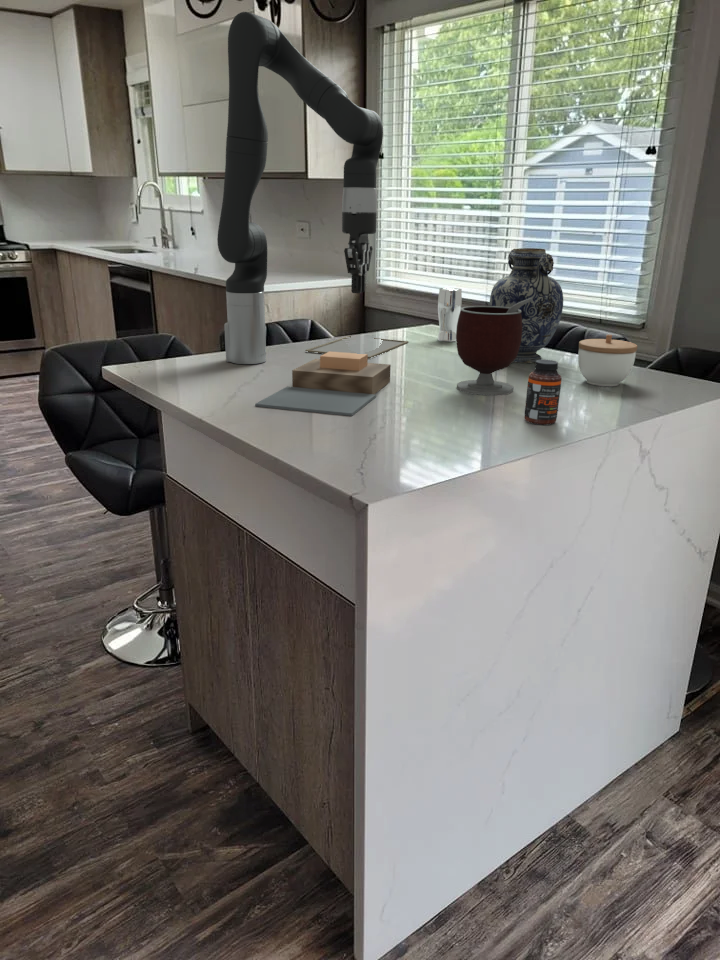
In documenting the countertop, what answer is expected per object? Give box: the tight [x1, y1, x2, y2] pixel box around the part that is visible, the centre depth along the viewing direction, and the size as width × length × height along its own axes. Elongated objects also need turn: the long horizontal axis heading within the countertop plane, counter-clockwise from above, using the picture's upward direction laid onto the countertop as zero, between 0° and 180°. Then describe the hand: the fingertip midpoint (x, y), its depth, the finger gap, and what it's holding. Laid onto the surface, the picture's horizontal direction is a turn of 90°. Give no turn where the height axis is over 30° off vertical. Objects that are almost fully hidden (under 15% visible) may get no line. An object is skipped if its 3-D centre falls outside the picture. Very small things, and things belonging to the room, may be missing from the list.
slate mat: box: [254, 385, 377, 417], centre depth 147 cm, size 20×16×1 cm
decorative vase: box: [489, 247, 564, 364], centre depth 189 cm, size 21×19×28 cm
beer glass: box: [437, 287, 463, 343], centre depth 217 cm, size 7×7×15 cm
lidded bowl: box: [577, 334, 638, 387], centre depth 166 cm, size 13×13×11 cm
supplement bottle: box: [523, 359, 562, 426], centre depth 134 cm, size 6×6×11 cm
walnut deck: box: [291, 358, 391, 394], centre depth 161 cm, size 18×14×4 cm
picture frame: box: [304, 335, 409, 358], centre depth 206 cm, size 19×1×28 cm
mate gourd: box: [455, 298, 533, 396], centre depth 157 cm, size 16×14×20 cm
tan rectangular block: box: [319, 351, 369, 371], centre depth 161 cm, size 9×6×2 cm, turn 72°
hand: (358, 292), depth 164 cm, fingers closed
